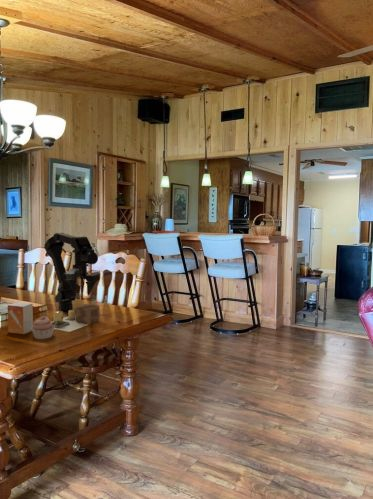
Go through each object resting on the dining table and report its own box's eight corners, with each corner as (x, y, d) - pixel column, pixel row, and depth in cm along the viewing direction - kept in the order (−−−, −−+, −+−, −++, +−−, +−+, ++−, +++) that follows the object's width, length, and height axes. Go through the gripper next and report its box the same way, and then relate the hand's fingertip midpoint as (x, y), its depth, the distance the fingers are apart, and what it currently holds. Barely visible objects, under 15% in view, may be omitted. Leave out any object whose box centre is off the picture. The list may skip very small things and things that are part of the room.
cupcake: (32, 344, 163) (31, 319, 162) (30, 337, 172) (30, 313, 171) (56, 341, 167) (56, 317, 166) (54, 334, 175) (53, 311, 174)
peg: (51, 325, 184) (51, 312, 184) (58, 323, 188) (57, 310, 187) (58, 326, 182) (58, 313, 182) (65, 324, 186) (64, 311, 185)
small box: (7, 335, 174) (6, 304, 173) (18, 330, 180) (17, 301, 179) (23, 337, 172) (22, 306, 171) (33, 332, 178) (32, 303, 177)
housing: (75, 321, 190) (75, 307, 190) (85, 318, 197) (85, 304, 196) (89, 323, 187) (89, 309, 186) (99, 320, 193) (99, 305, 192)
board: (38, 328, 184) (38, 317, 183) (69, 318, 202) (69, 307, 201) (69, 334, 176) (69, 322, 175) (99, 323, 194) (98, 312, 193)
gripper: (54, 263, 196) (54, 295, 198) (85, 265, 188) (85, 299, 190) (70, 260, 206) (70, 291, 208) (100, 263, 198) (100, 294, 200)
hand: (81, 294), depth 201 cm, fingers open, 9 cm apart
